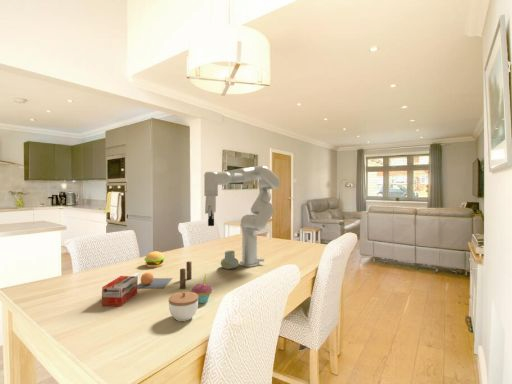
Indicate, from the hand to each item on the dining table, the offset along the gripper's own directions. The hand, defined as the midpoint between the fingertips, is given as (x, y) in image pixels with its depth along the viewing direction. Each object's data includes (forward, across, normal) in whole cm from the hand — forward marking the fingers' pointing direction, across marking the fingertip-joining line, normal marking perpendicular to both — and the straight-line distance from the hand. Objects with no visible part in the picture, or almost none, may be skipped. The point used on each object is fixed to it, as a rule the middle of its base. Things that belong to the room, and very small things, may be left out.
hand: (211, 225), depth 154 cm
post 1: (+27, +23, -10) cm, 37 cm away
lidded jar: (+27, +54, -2) cm, 60 cm away
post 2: (+27, +10, -10) cm, 31 cm away
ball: (+24, +19, -29) cm, 42 cm away
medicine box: (+27, +36, -34) cm, 57 cm away
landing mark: (+27, +17, -26) cm, 41 cm away
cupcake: (+27, +39, +2) cm, 47 cm away
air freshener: (+27, -10, +10) cm, 31 cm away
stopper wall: (+27, +17, -38) cm, 50 cm away
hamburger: (+27, -15, -37) cm, 48 cm away
